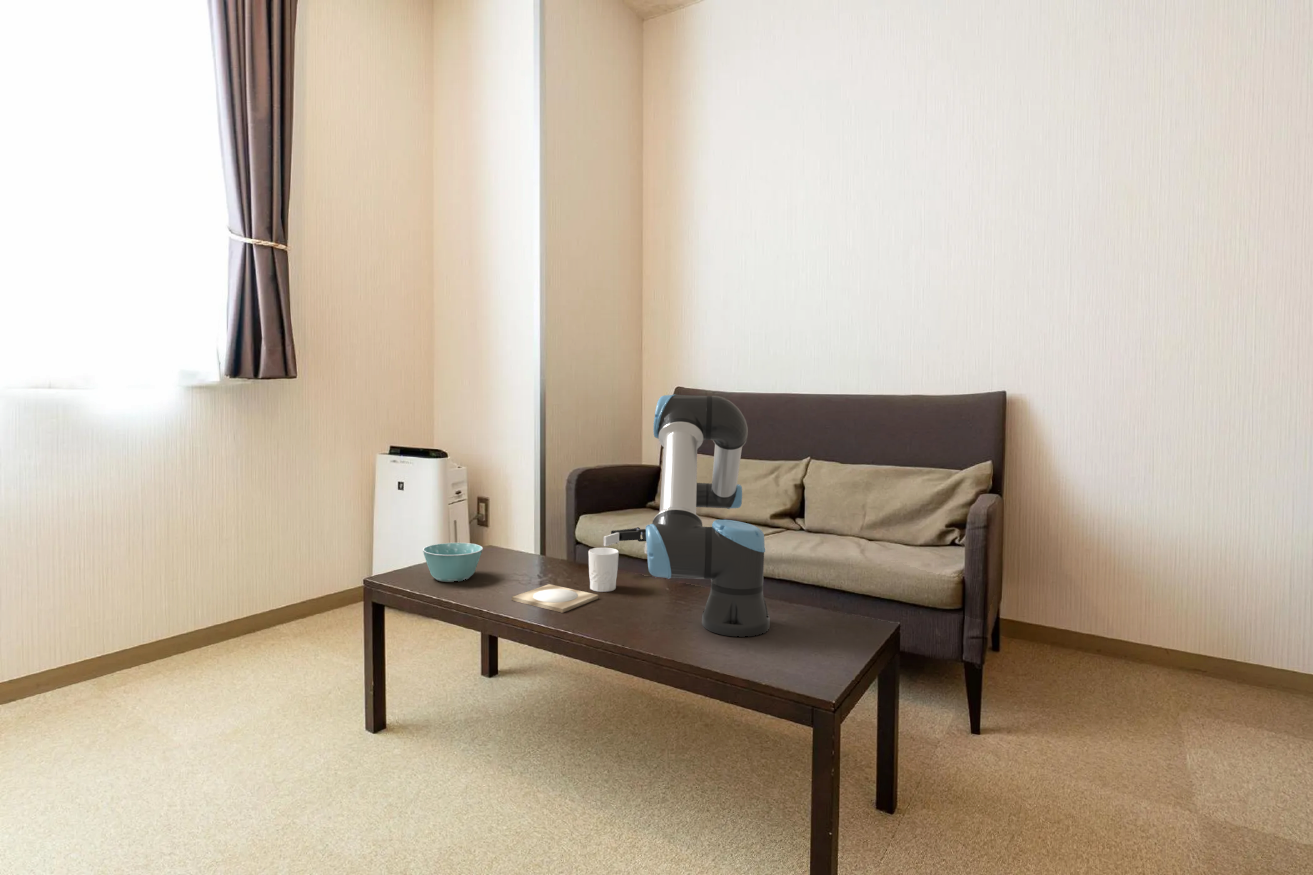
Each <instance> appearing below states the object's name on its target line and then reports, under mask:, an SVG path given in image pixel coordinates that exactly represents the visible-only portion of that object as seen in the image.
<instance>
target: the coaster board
mask: <svg viewBox="0 0 1313 875" xmlns="http://www.w3.org/2000/svg"><path fill="white" fill-rule="evenodd" d="M598 599H599V594H596V593H591V592H587V591H583V590H582V591H581V590H578V589H573V588H568V587H563V586H559V585H556V584H555V585H554V584H552V583H551V584H550V583H548V584H544V585H543V586H540V587H537V588H533V589H531V590H528V591H525V592H522V593H518V594H517V595H514V596H511V601H514V602H517V603H522V604H525V605H528V606H533V607H537V608H542V609H545V610H550V611H553V612H558V613H565V612H568V611H570V610H573V609H576V608H578V607H581V606H584V605H586V604H588V603H591V602H593V601H595V600H598Z"/></svg>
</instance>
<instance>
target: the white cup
mask: <svg viewBox="0 0 1313 875" xmlns="http://www.w3.org/2000/svg"><path fill="white" fill-rule="evenodd" d="M619 552H620V551H619V550H618V549H616V548H613V547H612V548H611V547H594V548H590V549H589V550H588V553H587V554H588V575H589V577H588V578H589V590H592V591H594V592H598V593H599V592H600V593H603V592H606V593H607V592H612V591H614V590H616V588H617V577H618V567H619Z"/></svg>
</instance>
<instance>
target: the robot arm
mask: <svg viewBox="0 0 1313 875" xmlns="http://www.w3.org/2000/svg"><path fill="white" fill-rule="evenodd" d="M653 419H654V420H653V432H652V433H653V436H654V438H656V439H658V442H659V444H660V445H661V446H662V447H663V452H662V455H663V456H662V467H661V468H662V470H661V483H660V499H659V500H660V501H659V513H657V514H656V515H655V516H654V517H653V519H652V523H650V524H646V525H645V528H640V527H638V526H637V527H633V528H625V529H614V530H613V529H612V530H610V534H608V535H604V536H603V547H608V546H612V545H614V544H615V545H616V544H617V545H618V543H620V542H621V541H622V542H625V541H626V542H627V541H637V542H645V543H644V552H643V553H644V554H646V555H647V557H646V558H647V567H648V572H649V574H650V575H651V576H653V577H656V578H664V579H665V578H666V579H669V580H670V579H688V580H689V579H693V580H694V579H695V580H696V579H697V580H710V591H709V594H708V598H707V599H706V600H707V601H706V604H705V607H704V609H703V612H702V614H701V616H702V617H701V626H702V627H703V628H704V629H706V630H707V631H709V632H712V633H714V634H718V635H721V636H727V637H736V638H737V636H739V638H742V637H744V638H745V636H748V637H756V636H759V635H758V634H760V635H763V634H765V633H767V632H768V631H769V630H770V625H771V624H770V623H771V618H770V617H771V616H770V615H769V612H768V607H767V604H766V600H765V596H764V573H765V572H764V569H765V568H764V567H765V566H764V565H765V564H764V563H765V553H766V547H765V534H764V531H762V529H761V528H759V527H757V526H755V525H753V524H751V523H748V522H747V523H746V522H743V521H738V520H731V519H715V520H714V521H713V522H712V524H711V526H703V521H702V519H701V517H700V516H699V515H698V514H697V508H710V509H711V508H712V509H728V510H730V509H739V508H741V507H742V502H743V501H742V500H743V487H742V485H741V484H738V482H739V481H738V480H739V472H740V465H741V457H742V456H741V455H742V451H743V450H742V449H743V446H745V444H746V443H747V440H748V436H749V435H748V433H749V432H748V430H749V428H748V424H747V420H746V418H745V416H744V415H743V413H742V411H741V410H740V408H738V406H736V404H734V403H733V402H732V401H731V400H729V399H727V398H725V397H722V396H718V395H694V394H693V395H690V394H689V395H688V394H686V395H684V394H666V395H665V394H664V395H661V396H660V397H659V399H658V400H657V403H656V406H655V412H654V418H653ZM707 440H709V441H713V443H714V454H713V466H712V468H713V469H712V476H711V478H712V479H711V483H707V482H706V483H705V482H697V479H698V475H697V474H698V449H699V448H700V447H701V446H702V444H703V442H704V441H707ZM768 629H769V630H768ZM766 631H767V632H766ZM762 633H763V634H762ZM755 635H756V636H755Z"/></svg>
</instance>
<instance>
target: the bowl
mask: <svg viewBox="0 0 1313 875" xmlns="http://www.w3.org/2000/svg"><path fill="white" fill-rule="evenodd" d="M483 550H484V548H483V546H481V545H479V544H476V543H470V542H469V543H468V542H445V543H443V542H442V543H436V544H435V543H434V544H431V545H430V544H429V545H427V546H424V547H423V548H422V553H423V555H424V559H425V561H426V565H427V567H428V570H429V572H430V575H431V576H432V577H433V578H434V579H435V580H436V581H439V582H445V583H455V582H454V581H458V582H463V580H464V581H466V580H468V579H470V578H471V577H472V576H473V575H474V574H475V572H476V569H477V567H478V564H479V560H480V559H481V555H482V553H483ZM465 579H466V580H465Z"/></svg>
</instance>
